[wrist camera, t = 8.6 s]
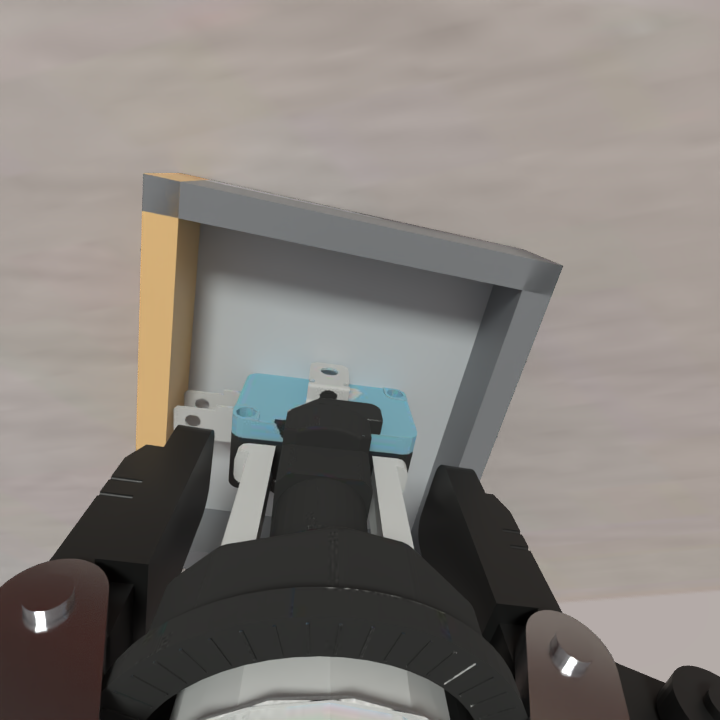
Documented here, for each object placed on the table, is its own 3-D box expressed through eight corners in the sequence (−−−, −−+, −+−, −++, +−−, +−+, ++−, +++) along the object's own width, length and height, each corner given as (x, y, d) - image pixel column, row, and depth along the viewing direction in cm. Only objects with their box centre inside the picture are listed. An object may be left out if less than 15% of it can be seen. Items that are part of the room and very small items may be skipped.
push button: (189, 464, 14) (-80, 1008, 5) (192, 304, 12) (-255, 721, 3) (393, 484, 15) (488, 989, 6) (427, 336, 13) (662, 749, 4)
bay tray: (522, 249, 13) (563, 265, 10) (421, 539, 17) (434, 595, 15) (179, 173, 11) (143, 173, 9) (161, 507, 15) (133, 562, 13)
